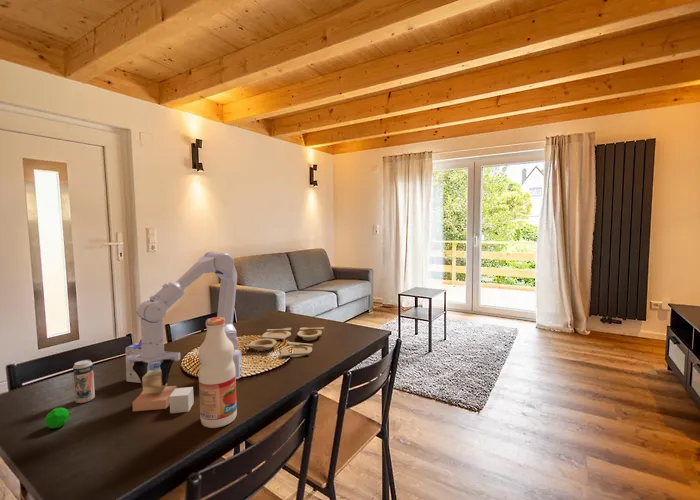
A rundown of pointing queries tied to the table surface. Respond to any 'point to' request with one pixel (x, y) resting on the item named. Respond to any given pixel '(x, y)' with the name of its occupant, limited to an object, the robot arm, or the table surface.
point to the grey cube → (181, 400)
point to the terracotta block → (153, 400)
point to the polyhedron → (57, 418)
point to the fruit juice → (217, 376)
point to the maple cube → (153, 382)
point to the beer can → (83, 381)
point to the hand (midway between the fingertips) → (155, 384)
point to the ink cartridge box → (130, 373)
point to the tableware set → (298, 348)
